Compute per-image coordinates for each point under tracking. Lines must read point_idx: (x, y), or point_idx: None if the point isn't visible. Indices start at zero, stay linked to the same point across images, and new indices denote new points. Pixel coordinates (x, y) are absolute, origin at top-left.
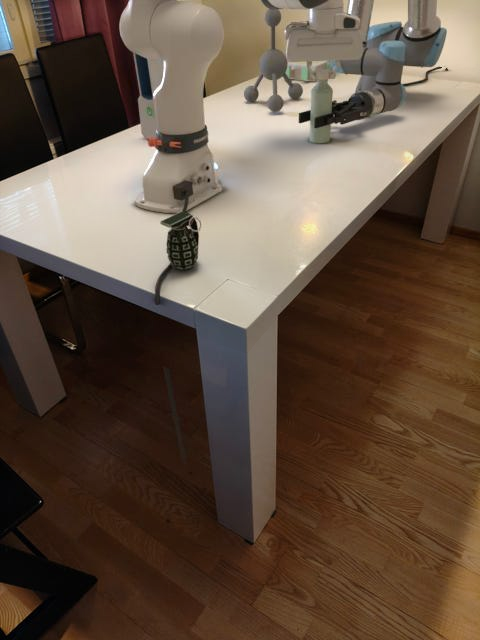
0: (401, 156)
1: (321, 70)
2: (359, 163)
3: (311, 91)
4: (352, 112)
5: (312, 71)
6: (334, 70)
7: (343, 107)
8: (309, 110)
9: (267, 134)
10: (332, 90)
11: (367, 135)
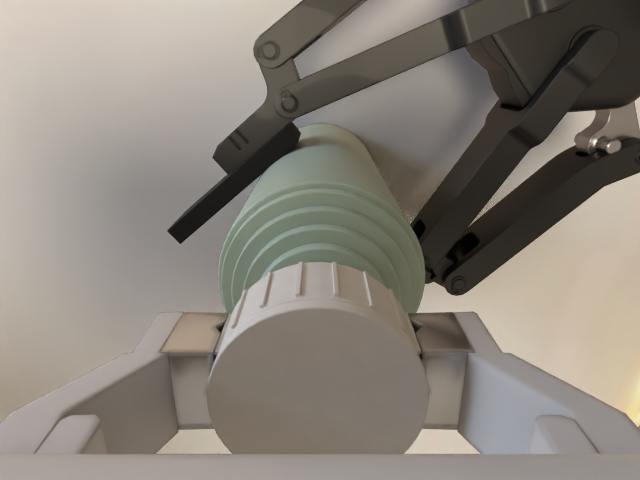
0: (625, 388)
1: (299, 405)
2: (451, 440)
3: (221, 296)
4: (533, 237)
5: (168, 406)
6: (483, 448)
7: (506, 72)
8: (239, 173)
9: (19, 51)
10: (419, 301)
11: (583, 115)
